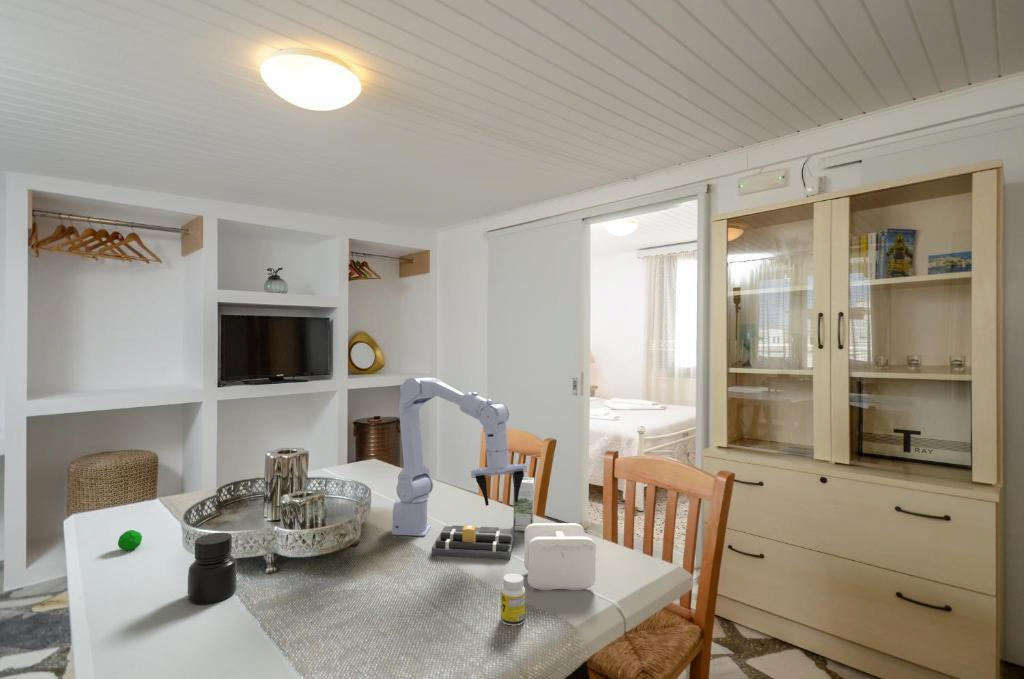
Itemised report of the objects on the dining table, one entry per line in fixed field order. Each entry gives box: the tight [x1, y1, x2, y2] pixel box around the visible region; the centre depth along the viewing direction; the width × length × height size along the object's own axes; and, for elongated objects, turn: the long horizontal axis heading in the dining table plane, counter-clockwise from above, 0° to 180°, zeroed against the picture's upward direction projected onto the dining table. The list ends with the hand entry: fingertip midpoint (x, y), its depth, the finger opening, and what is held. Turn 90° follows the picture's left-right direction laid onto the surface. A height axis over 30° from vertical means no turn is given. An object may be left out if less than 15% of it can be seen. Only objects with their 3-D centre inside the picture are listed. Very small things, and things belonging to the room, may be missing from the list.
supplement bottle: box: [500, 573, 526, 625], centre depth 102 cm, size 5×5×8 cm
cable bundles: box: [435, 529, 512, 552], centre depth 136 cm, size 19×10×2 cm, turn 85°
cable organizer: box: [523, 522, 597, 591], centre depth 120 cm, size 15×11×12 cm
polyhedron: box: [117, 529, 143, 552], centre depth 134 cm, size 5×5×5 cm
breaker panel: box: [431, 525, 516, 561], centre depth 140 cm, size 20×16×3 cm
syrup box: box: [512, 477, 535, 532], centre depth 153 cm, size 6×6×14 cm
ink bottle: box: [187, 532, 238, 605], centre depth 111 cm, size 10×9×12 cm
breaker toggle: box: [462, 524, 477, 543], centre depth 135 cm, size 3×3×4 cm
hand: (501, 502), depth 136 cm, fingers open, 7 cm apart
